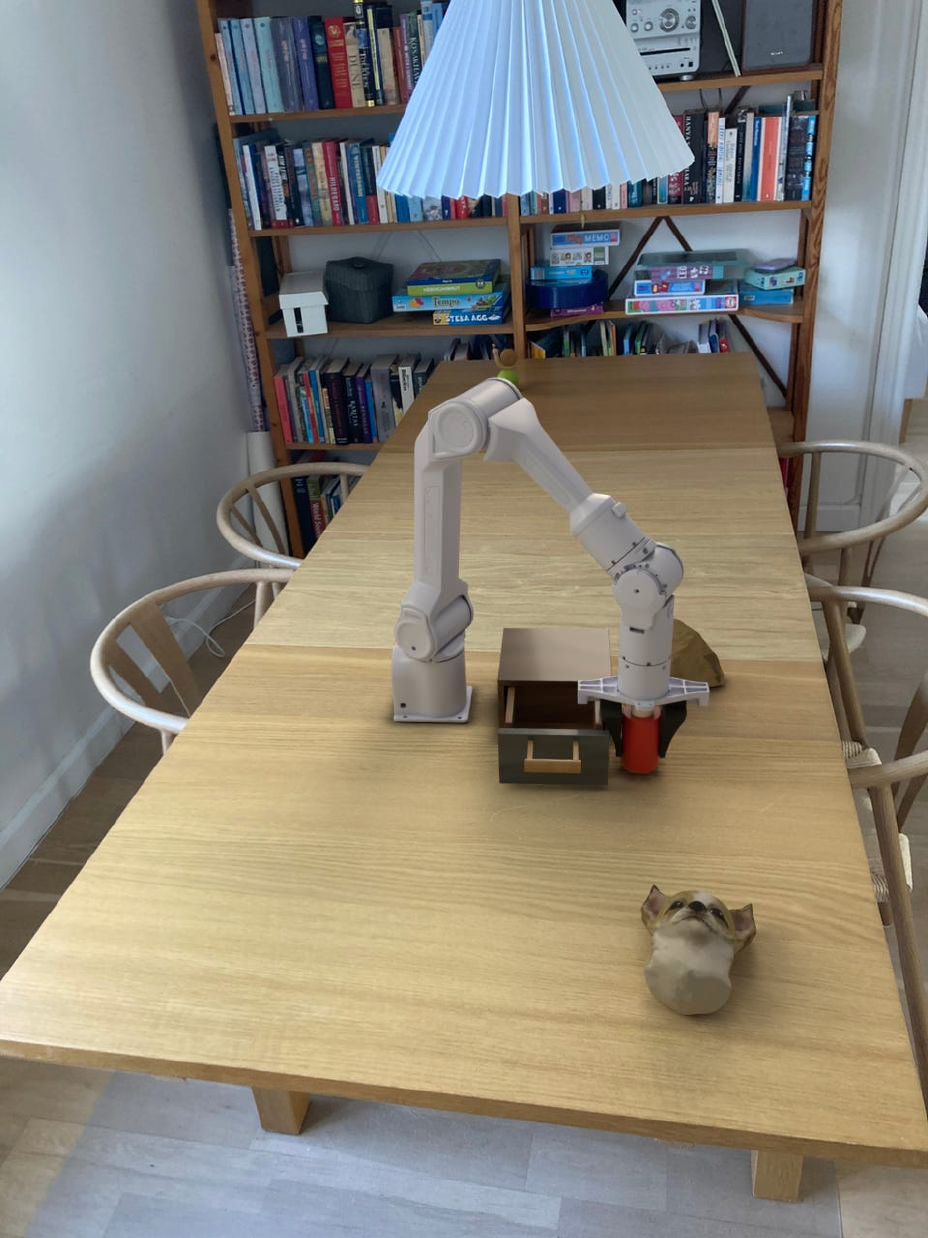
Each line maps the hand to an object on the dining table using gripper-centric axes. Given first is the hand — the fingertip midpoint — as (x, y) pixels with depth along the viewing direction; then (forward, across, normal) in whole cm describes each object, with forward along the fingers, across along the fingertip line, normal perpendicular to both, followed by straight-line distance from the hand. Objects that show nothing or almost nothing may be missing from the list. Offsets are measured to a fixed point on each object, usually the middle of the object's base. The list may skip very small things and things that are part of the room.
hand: (639, 752), depth 118 cm
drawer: (+1, -10, -2) cm, 10 cm away
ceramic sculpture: (+2, +3, -30) cm, 30 cm away
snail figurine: (+2, -24, +152) cm, 154 cm away
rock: (+2, +7, +17) cm, 19 cm away
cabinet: (+2, -10, +11) cm, 15 cm away
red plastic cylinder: (+1, 0, 0) cm, 1 cm away
